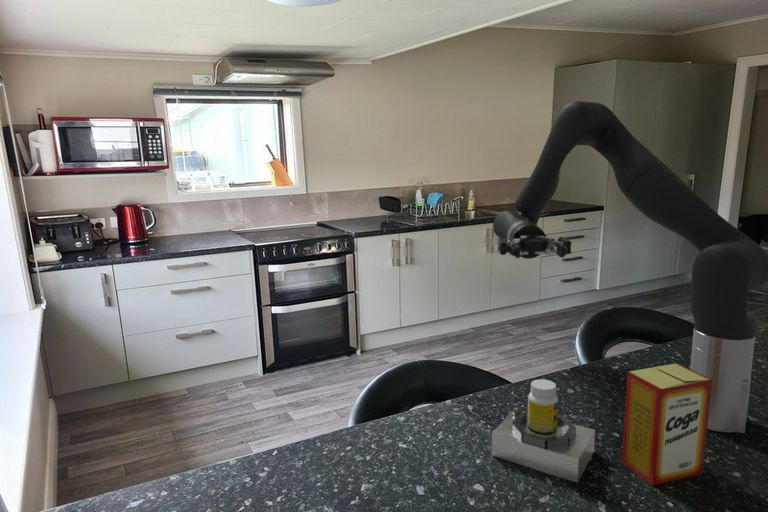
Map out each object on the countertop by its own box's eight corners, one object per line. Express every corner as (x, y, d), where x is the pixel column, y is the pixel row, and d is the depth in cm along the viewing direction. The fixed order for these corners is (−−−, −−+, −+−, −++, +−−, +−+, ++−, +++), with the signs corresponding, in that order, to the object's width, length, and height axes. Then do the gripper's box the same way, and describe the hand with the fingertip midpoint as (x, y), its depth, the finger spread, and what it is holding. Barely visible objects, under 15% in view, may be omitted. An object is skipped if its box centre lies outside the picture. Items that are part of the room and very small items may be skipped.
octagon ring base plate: (593, 451, 88) (595, 423, 87) (577, 483, 80) (578, 452, 79) (513, 428, 96) (514, 402, 95) (491, 455, 88) (491, 426, 87)
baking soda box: (652, 485, 79) (659, 387, 76) (621, 461, 85) (627, 369, 82) (702, 473, 82) (712, 377, 78) (669, 451, 88) (677, 361, 85)
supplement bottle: (558, 440, 85) (560, 391, 83) (528, 437, 86) (529, 389, 84) (555, 425, 89) (556, 378, 88) (526, 422, 90) (527, 377, 89)
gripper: (493, 222, 119) (503, 234, 103) (558, 221, 118) (578, 233, 102) (493, 255, 120) (503, 271, 105) (557, 254, 119) (577, 270, 103)
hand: (540, 252), depth 103 cm, fingers open, 8 cm apart
